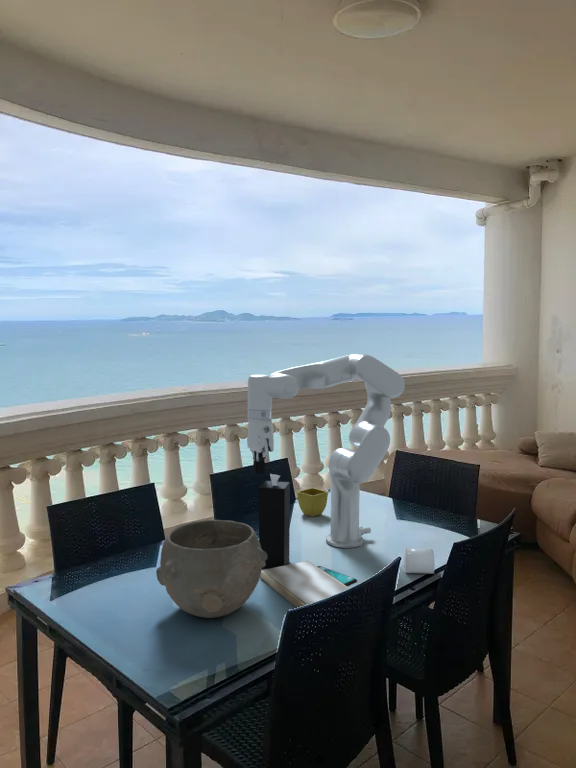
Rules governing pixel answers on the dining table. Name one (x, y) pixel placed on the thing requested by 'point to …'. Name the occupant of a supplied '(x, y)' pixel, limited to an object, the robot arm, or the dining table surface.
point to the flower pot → (312, 501)
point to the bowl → (211, 566)
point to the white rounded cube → (419, 560)
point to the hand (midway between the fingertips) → (258, 472)
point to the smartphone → (339, 576)
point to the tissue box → (274, 521)
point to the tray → (302, 583)
